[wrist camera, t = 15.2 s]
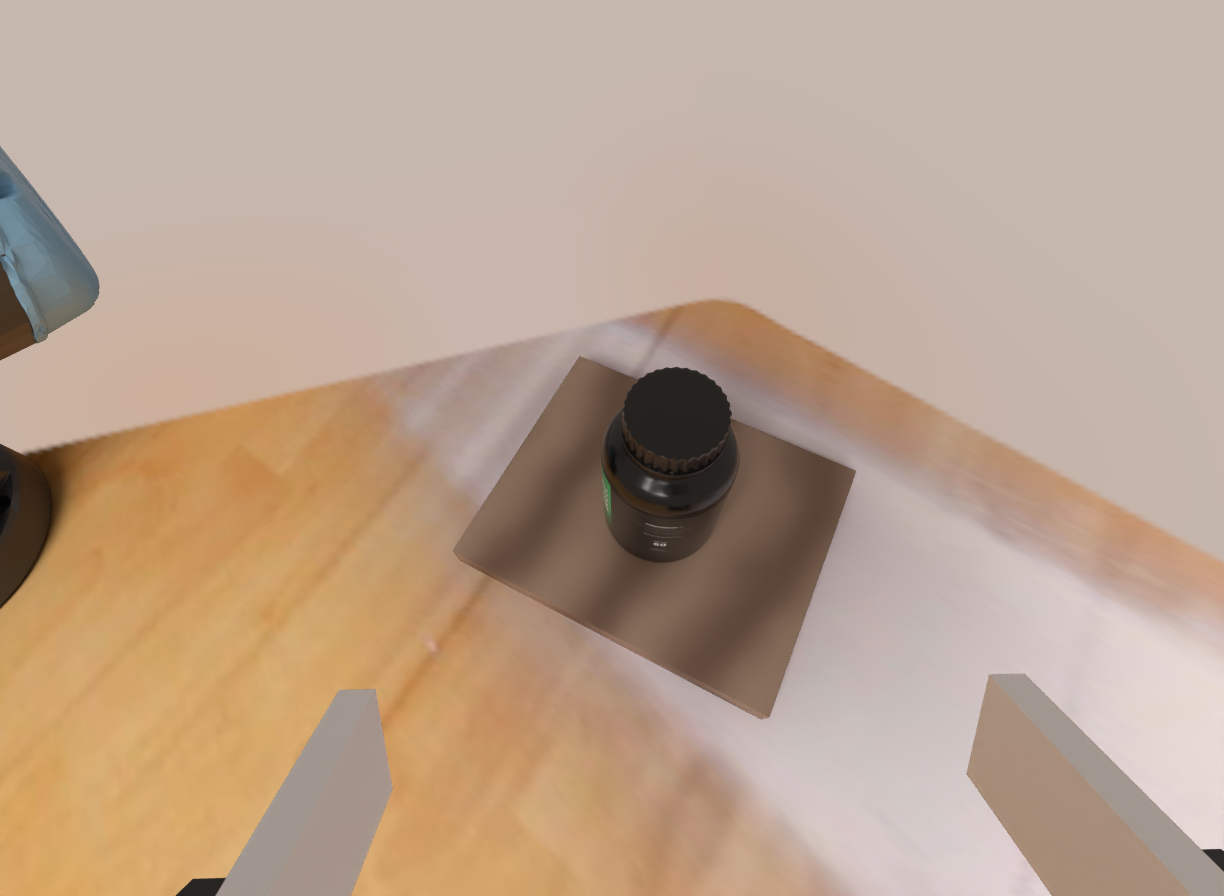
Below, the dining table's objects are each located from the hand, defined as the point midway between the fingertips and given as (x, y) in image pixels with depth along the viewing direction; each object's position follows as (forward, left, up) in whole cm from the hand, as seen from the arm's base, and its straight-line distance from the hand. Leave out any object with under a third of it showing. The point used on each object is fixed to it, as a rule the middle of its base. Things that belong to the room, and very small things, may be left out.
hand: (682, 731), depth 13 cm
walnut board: (-5, +12, -22) cm, 25 cm away
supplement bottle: (-5, +12, -20) cm, 24 cm away
